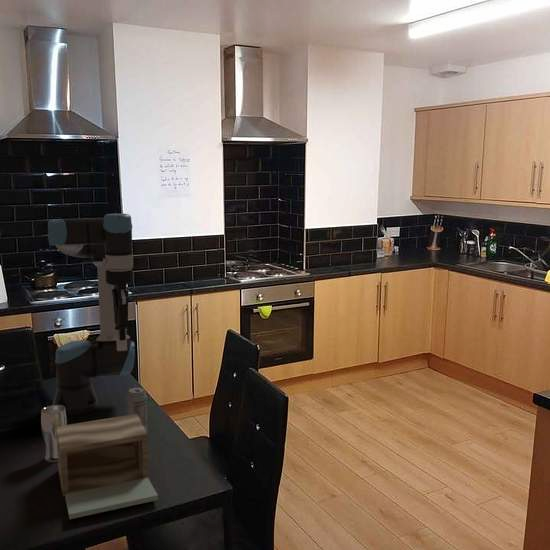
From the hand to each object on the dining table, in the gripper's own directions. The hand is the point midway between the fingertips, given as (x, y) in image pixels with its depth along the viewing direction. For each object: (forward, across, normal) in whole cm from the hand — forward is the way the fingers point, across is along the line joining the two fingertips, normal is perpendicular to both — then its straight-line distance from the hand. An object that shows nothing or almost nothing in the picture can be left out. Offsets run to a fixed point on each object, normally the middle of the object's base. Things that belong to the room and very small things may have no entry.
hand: (122, 349), depth 166 cm
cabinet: (+32, +11, -8) cm, 35 cm away
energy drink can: (+33, -12, +6) cm, 35 cm away
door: (+31, +20, -8) cm, 38 cm away
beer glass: (+33, -6, -19) cm, 38 cm away
